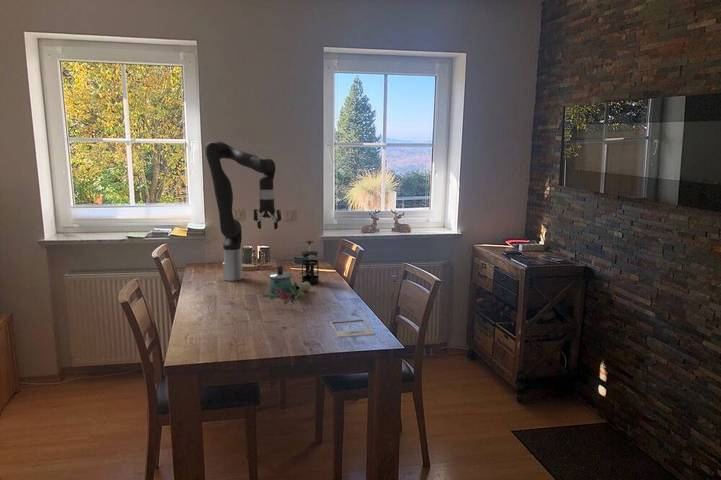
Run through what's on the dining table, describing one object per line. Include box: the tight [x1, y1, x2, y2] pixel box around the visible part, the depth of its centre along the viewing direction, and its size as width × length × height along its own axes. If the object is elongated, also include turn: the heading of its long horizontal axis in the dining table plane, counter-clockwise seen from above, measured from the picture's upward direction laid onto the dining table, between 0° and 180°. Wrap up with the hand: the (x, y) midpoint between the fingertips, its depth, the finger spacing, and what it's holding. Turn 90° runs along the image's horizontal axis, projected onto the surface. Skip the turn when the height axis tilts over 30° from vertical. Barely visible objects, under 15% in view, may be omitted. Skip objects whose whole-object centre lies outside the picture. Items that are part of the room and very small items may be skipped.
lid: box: [268, 265, 292, 279], centre depth 272 cm, size 11×11×5 cm
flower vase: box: [269, 281, 312, 305], centre depth 261 cm, size 12×12×35 cm
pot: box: [262, 277, 295, 298], centre depth 273 cm, size 14×14×9 cm
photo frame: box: [329, 318, 375, 339], centre depth 222 cm, size 15×1×18 cm
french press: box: [300, 240, 320, 286], centre depth 291 cm, size 12×9×23 cm
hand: (267, 229), depth 284 cm, fingers open, 8 cm apart
